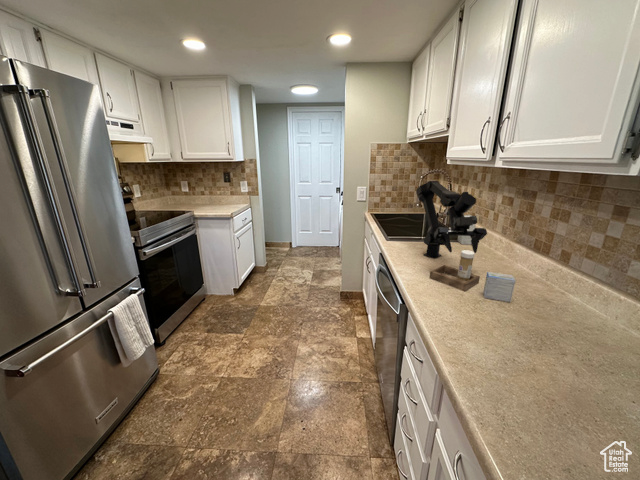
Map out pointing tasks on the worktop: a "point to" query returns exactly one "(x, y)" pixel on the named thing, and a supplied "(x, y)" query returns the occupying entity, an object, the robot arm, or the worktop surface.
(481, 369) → the worktop surface
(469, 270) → the sprinkles bottle
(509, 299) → the medicine box
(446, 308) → the worktop surface
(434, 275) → the frame
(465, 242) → the skincare box
